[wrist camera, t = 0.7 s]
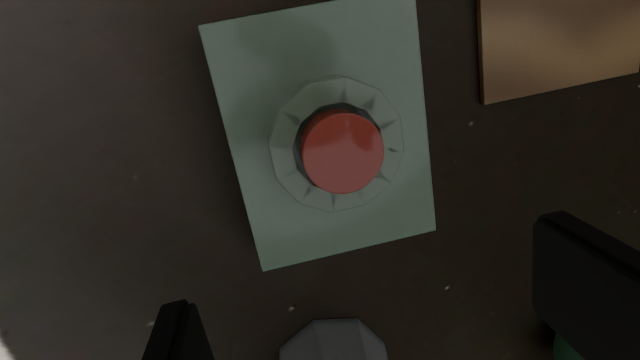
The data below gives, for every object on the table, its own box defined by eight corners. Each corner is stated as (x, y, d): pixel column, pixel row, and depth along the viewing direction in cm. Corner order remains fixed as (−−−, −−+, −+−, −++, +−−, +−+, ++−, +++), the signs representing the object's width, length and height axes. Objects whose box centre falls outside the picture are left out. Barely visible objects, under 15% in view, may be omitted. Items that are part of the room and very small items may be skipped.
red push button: (291, 116, 20) (294, 122, 18) (368, 100, 20) (378, 105, 19) (306, 190, 21) (311, 202, 20) (378, 174, 22) (389, 184, 20)
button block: (204, 28, 22) (191, 22, 18) (393, -7, 23) (429, -21, 18) (261, 247, 27) (263, 289, 22) (416, 210, 28) (449, 243, 23)
